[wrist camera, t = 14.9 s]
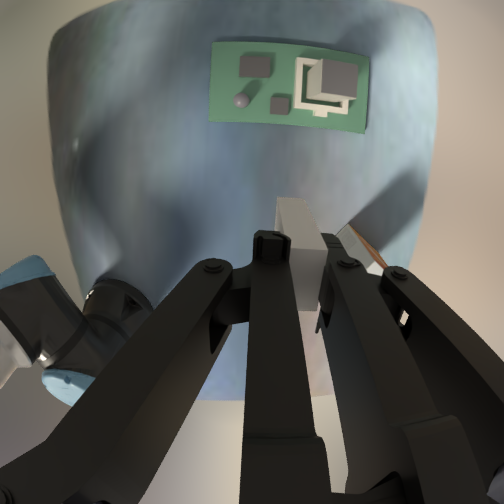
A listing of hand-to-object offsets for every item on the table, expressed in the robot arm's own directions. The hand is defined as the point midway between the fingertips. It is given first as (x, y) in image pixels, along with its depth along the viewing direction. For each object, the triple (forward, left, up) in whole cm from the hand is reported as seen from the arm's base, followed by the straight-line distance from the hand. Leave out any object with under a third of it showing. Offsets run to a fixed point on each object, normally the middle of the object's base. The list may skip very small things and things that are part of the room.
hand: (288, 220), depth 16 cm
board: (+2, +11, -26) cm, 29 cm away
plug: (+6, +11, -25) cm, 28 cm away
